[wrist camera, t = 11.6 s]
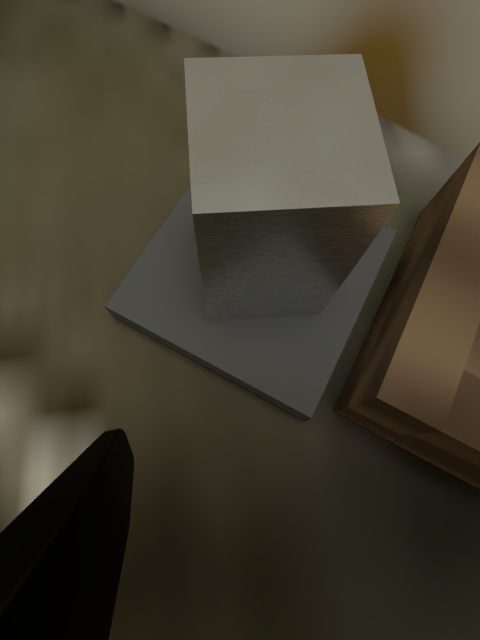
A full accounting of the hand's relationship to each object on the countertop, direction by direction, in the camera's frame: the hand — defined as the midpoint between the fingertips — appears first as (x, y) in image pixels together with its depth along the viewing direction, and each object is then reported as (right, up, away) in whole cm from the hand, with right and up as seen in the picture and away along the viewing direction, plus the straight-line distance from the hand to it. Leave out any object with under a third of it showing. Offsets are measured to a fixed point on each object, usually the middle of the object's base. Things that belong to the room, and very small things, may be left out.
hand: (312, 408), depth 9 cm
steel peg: (-1, +5, +8) cm, 10 cm away
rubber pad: (-1, +4, +10) cm, 11 cm away
